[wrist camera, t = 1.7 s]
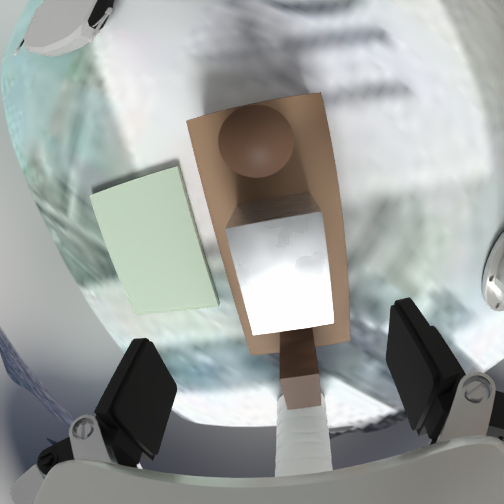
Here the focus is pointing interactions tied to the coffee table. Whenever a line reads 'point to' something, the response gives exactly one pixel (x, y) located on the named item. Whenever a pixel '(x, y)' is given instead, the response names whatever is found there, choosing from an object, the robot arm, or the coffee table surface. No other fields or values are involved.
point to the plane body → (272, 186)
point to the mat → (155, 243)
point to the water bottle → (302, 440)
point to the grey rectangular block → (282, 262)
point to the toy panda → (65, 25)
